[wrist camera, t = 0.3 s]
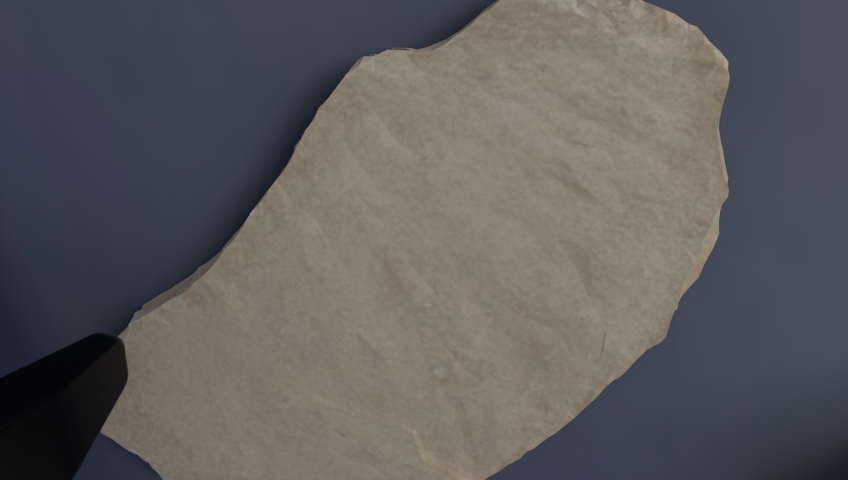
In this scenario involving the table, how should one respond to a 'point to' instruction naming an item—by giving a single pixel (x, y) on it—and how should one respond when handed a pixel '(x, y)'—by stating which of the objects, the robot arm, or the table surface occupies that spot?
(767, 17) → the table surface
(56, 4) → the table surface
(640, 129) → the stone tablet
